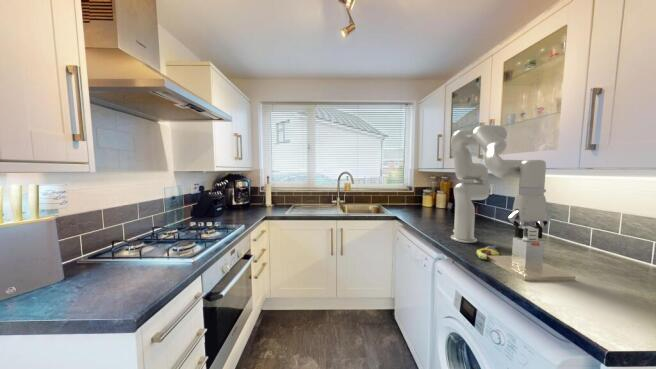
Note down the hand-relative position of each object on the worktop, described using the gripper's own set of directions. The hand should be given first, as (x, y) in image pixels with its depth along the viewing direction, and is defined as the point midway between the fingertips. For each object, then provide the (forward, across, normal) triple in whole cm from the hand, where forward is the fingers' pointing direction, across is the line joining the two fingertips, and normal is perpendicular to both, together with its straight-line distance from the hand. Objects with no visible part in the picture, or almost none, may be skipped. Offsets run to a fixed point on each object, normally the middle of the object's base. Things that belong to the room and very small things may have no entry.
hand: (528, 237), depth 93 cm
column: (+11, 0, 0) cm, 11 cm away
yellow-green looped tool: (+13, +2, -17) cm, 22 cm away
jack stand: (+13, 0, 0) cm, 13 cm away
